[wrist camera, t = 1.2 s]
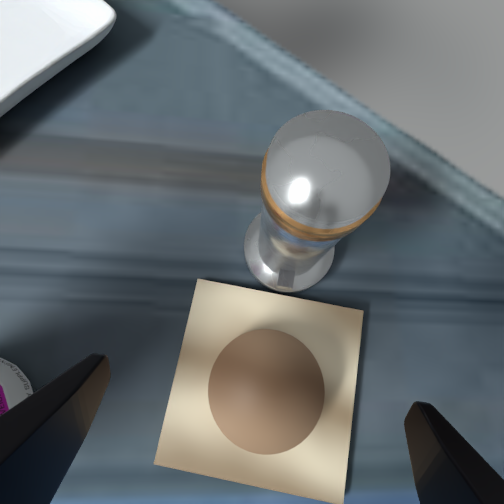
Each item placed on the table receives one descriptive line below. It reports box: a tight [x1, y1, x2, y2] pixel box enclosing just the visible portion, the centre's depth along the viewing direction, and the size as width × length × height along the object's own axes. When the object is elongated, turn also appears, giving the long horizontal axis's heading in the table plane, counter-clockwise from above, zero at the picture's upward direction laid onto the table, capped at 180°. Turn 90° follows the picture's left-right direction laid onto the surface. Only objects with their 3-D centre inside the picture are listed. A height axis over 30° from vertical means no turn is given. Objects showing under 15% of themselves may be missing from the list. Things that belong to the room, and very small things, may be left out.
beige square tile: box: [154, 279, 364, 504], centre depth 20 cm, size 12×12×3 cm
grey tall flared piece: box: [244, 110, 390, 293], centre depth 18 cm, size 7×6×13 cm
